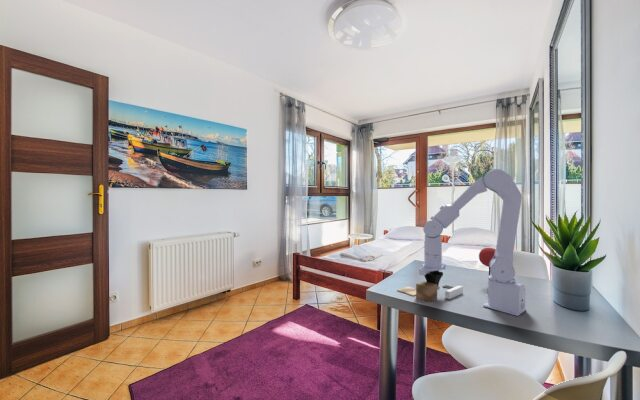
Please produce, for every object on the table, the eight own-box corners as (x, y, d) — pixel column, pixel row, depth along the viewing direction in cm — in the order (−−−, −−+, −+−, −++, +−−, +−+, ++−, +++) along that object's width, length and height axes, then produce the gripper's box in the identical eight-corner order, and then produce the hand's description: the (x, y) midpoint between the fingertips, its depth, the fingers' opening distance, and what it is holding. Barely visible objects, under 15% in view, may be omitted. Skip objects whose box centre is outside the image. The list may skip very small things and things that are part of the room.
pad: (424, 292, 100) (424, 291, 100) (413, 296, 95) (413, 295, 95) (408, 287, 105) (408, 286, 105) (397, 290, 101) (397, 289, 101)
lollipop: (500, 288, 104) (500, 250, 104) (477, 284, 109) (477, 248, 109) (501, 283, 110) (501, 247, 110) (480, 280, 115) (480, 245, 115)
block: (437, 298, 93) (437, 284, 93) (429, 302, 90) (429, 287, 90) (423, 294, 97) (423, 281, 97) (416, 297, 94) (416, 283, 94)
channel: (462, 293, 99) (462, 286, 99) (449, 299, 93) (449, 292, 93) (435, 286, 107) (435, 279, 107) (421, 291, 101) (421, 284, 101)
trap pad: (461, 289, 103) (461, 289, 103) (457, 291, 101) (457, 290, 101) (446, 285, 108) (446, 285, 108) (442, 287, 106) (442, 286, 106)
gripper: (433, 250, 104) (433, 285, 103) (411, 254, 95) (411, 292, 95) (451, 253, 98) (451, 290, 98) (430, 257, 89) (429, 298, 89)
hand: (432, 291), depth 96 cm, fingers closed
